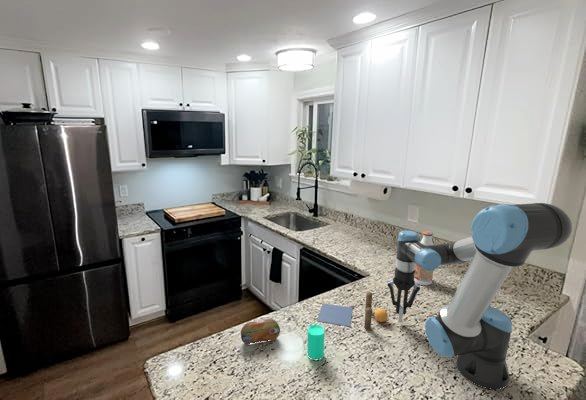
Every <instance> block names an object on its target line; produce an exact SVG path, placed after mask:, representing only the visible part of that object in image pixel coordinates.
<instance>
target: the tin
mask: <svg viewBox="0 0 586 400" xmlns="http://www.w3.org/2000/svg"><path fill="white" fill-rule="evenodd" d="M280 333H281V328H280V325H279V323H278V322H277V320H275V319H274V318H273V319H272V318H267V319H261V320H256V321H255V320H254V321H249V322H247V323H245V324H244V325H243V326H242V327H241V330H240V339H241V341H242V342H243V344H245V345H247V346H249V345H248V344H250V343H255V342H259V341H260V342H261V341H268V340H273V341H275V340H276V339H278V337H279V336H280Z"/></svg>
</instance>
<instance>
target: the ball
mask: <svg viewBox="0 0 586 400" xmlns="http://www.w3.org/2000/svg"><path fill="white" fill-rule="evenodd" d="M388 317H389V316H388V311H387V310H385V309H384V308H378V309H376V310H375V311H374V318H375V320H376V321H377V322H379V323H385V322H386V321H387V320H388Z"/></svg>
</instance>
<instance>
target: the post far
mask: <svg viewBox="0 0 586 400" xmlns="http://www.w3.org/2000/svg"><path fill="white" fill-rule="evenodd" d="M365 294H366V295H365V308H364V310H366V307H370V308H372V305H373V302H372V301H373V293H372V292H371V291H367V292H366V293H365Z"/></svg>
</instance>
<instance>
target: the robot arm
mask: <svg viewBox="0 0 586 400" xmlns="http://www.w3.org/2000/svg"><path fill="white" fill-rule="evenodd" d="M572 230H573V223H572V221H571V218H570V216H568V214H567V213H566V212H565V210H563V209H562V208H561V207H558V206H555V205H554V204H552V203H551V204H550V203H546V202H535V203H517V204H510V203H501V204H495V205H491V206H487V207H485V208H483V209H481V210H480V211H478V212H477V214H476V215H475V216H474V218H473V220H472V222H471V227H470V231H472V234H471V236H467V237H466V238H462V239H459V240H457V241H453V242H450V243H441V244H434V245H424V244H422V243H420V242H421V241H419V240H420V237H419V234H418V232H416V231H413V230H401V231H399V233H398V238H397V243H396V244H397V245H396V258H395V268H394V277H393V278H392V280H388V281H387V282H386V283H387V287H388V288H389V293H390V298H391V302H392V305H393V306H395V313H396V314H397V320H398V323H403V317H404V316H405V315H406V314H407V309H408V308H412V306H413V304H414V301H415V299H416V296H417V294H418V293H419V291H420V290H421V287H420V284H417V283H416V282H415V281H414V276H415V266H416V264H417V265H418V266H419V267H421V268H423V269H425V270H427V271H433V272H434V271H435V270H437V269H439V267H440V266H445V265H456V264H459V265H460V264H465V263H466V264H467V263H469V262H470V261H471V262H470V264H469V266H468V268H467V269H466V272H465V274H464V276H463V278H462V280H461V281H460V283H459V286H458V287H457V289H456V291H455V293H454V295H453V297H452V300H451V301H450V303H447V304H444V305H443V306H442V307H441V309H440V311H439V313H438V314H437V316H431V317H428V318H427V319H426V321H425V324H424V331H425V334H426V338H427V340H428V342H429V345H430V346H431V347H432V349H433V350H434V352H435V353H436V354H437V355H439V356H440V357H443V358H446V357H450V358H453V357H456V364H455V365H456V369H457V370H458V372H459V371H460V372H459V373H460V374H461V375H462V376H463V377H464V378H465V377H466V378H467V379H468V380H467V379H466V378H465V379H466V380H467V381H469V380H470V381H471V383H472V382H473V383H472V384H474V383H475V384H474V385H476V384H477V385H476V386H478V385H480V386H482V387H481V388H483V387H486V388H491V389H500V388H503V387H505V386H506V387H508V385H509V382H510V381H509V379H510V372H509V368H508V363H507V355H508V349H509V345H510V341H511V340H510V339H511V334H512V332H513V328H512V327H513V322H512V319H511V318H510V317H509V316H508V314H506V313H505V312H504V311H502V310H501V309H498V308H496V307H494V306H491V303H492V302H493V300H494V298H495V297H496V296H497V293H498V292H499V290H500V289H501V287H502V286H503V284H504V282H505V281H506V279H507V277H508V276H509V274H510V272H511V271H512V269H513V268H514V269H515V268H520V267H522V266H523V265H524V264H525V263H526V261H527V259H528V258H529V256H530V255H531V253H532V252H533V251H540V250H548V249H553V248H556V247H560V246H561V245H563V244H565V243H566V242H567V241H568V239H569V238H570V236H571V234H572ZM394 286H395V287H396V288H397V292H396V294H397V295H396V296H395V292H394ZM411 289H412V291H411V293H410V296H409V291H410V290H411ZM402 291H403V300H402V304H401V298H402ZM395 297H396V298H395ZM408 298H409V299H408ZM470 381H469V382H470ZM507 384H508V385H507ZM480 386H479V387H480ZM506 387H505V388H506ZM486 388H485V389H486ZM491 389H490V390H491ZM503 389H504V388H503ZM500 390H501V389H500Z"/></svg>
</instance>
